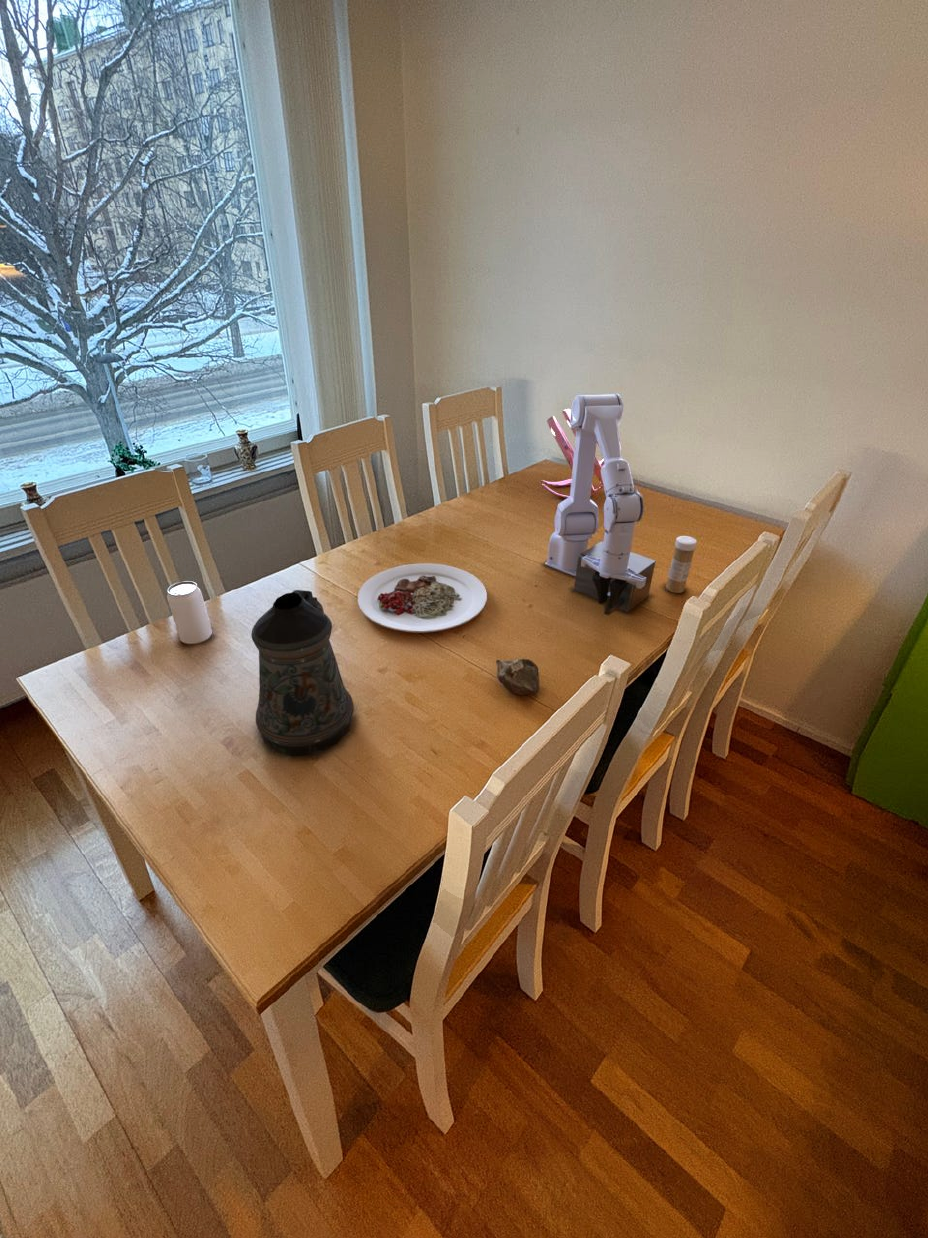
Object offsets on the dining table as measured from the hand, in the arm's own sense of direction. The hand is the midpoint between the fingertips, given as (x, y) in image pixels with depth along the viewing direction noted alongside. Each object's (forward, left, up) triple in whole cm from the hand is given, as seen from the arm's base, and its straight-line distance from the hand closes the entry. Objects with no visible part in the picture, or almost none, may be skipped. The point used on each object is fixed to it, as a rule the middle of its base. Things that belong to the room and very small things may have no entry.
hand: (607, 604), depth 131 cm
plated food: (-36, -22, -4) cm, 42 cm away
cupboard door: (-5, +3, -4) cm, 7 cm away
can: (-61, -65, -4) cm, 89 cm away
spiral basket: (-47, +60, -4) cm, 76 cm away
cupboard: (-5, +12, -4) cm, 13 cm away
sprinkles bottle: (+5, +24, -4) cm, 25 cm away
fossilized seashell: (-1, -31, -4) cm, 32 cm away
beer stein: (-23, -64, -4) cm, 68 cm away
